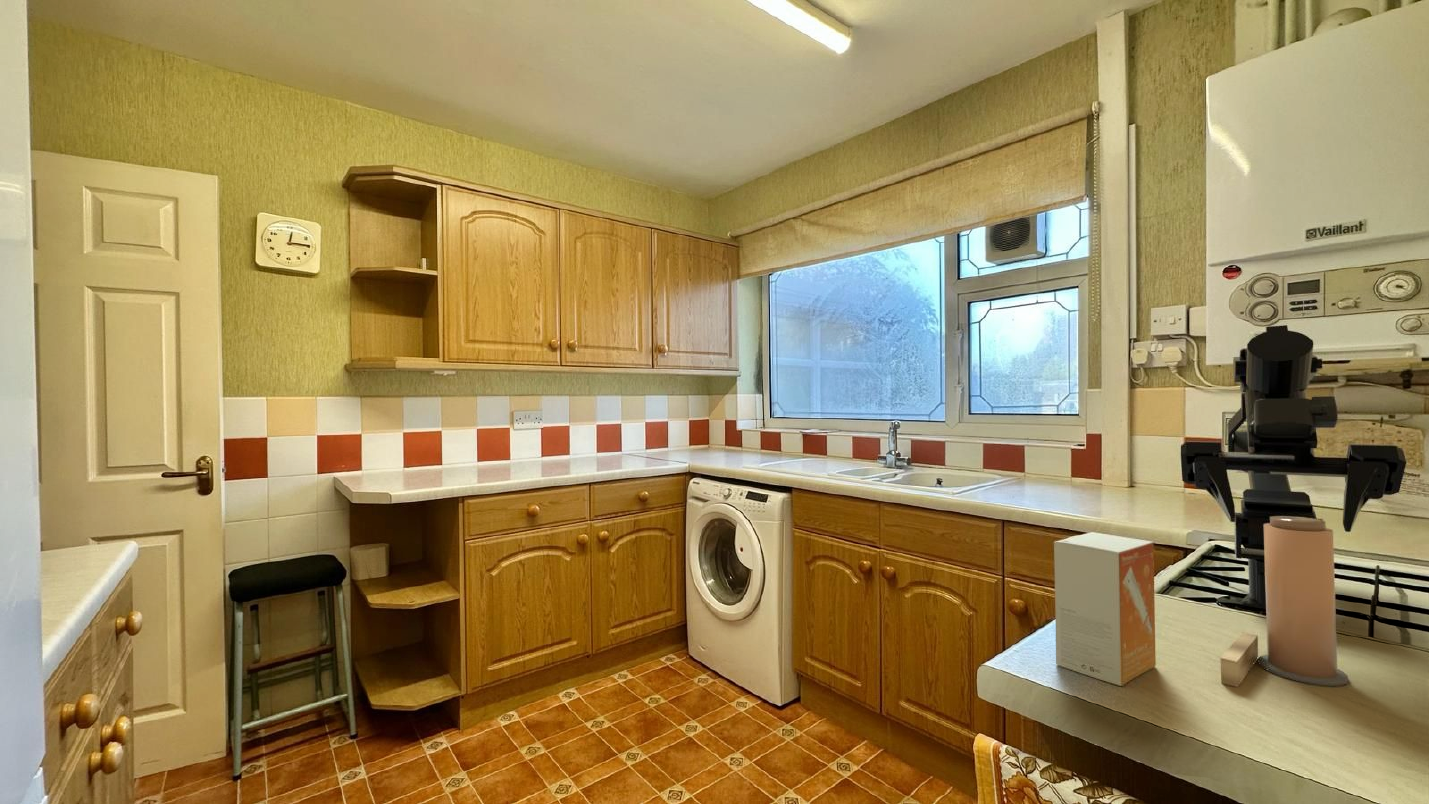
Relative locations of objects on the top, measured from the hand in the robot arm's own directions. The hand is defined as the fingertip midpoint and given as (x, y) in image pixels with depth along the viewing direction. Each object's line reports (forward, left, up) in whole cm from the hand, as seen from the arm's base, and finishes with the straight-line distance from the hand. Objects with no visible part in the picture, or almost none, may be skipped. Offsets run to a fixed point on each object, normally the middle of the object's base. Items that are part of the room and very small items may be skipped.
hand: (1287, 524), depth 66 cm
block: (+11, -2, -14) cm, 18 cm away
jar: (+7, +2, -13) cm, 15 cm away
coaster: (+7, +2, -13) cm, 15 cm away
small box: (+20, -11, -14) cm, 27 cm away
